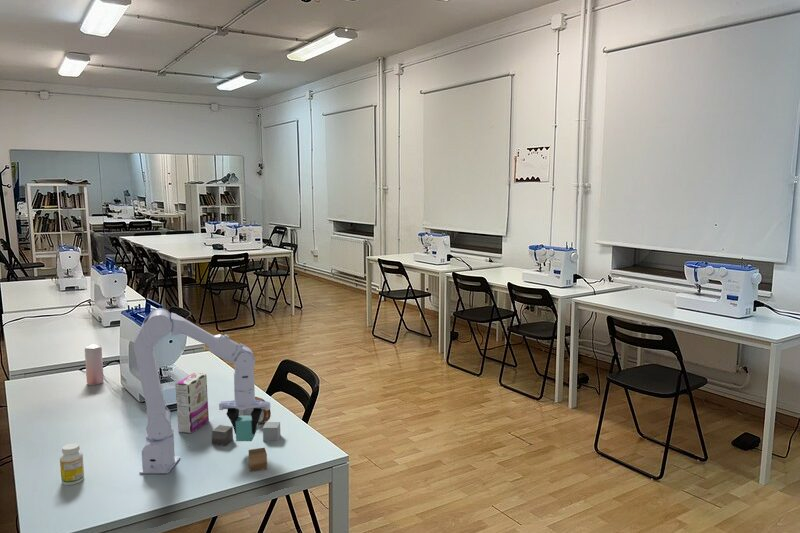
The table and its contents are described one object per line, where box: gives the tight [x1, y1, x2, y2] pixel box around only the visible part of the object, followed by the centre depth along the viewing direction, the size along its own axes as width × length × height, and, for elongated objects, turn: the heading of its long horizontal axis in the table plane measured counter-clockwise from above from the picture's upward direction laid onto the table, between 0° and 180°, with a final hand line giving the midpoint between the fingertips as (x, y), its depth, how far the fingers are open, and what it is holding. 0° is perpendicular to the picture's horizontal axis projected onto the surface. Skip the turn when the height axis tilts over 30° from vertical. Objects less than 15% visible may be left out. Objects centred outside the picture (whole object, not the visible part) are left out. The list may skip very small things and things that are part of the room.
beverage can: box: [84, 344, 105, 386], centre depth 234 cm, size 6×6×15 cm
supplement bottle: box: [59, 442, 85, 486], centre depth 157 cm, size 5×5×10 cm
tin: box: [239, 396, 272, 425], centre depth 198 cm, size 15×3×8 cm, turn 57°
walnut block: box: [248, 447, 268, 473], centre depth 166 cm, size 4×4×4 cm
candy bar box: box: [175, 372, 210, 434], centre depth 193 cm, size 11×5×16 cm, turn 168°
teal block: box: [235, 416, 256, 442], centre depth 174 cm, size 4×4×6 cm
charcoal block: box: [211, 424, 234, 447], centre depth 182 cm, size 4×4×4 cm
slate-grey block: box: [262, 421, 281, 442], centre depth 185 cm, size 4×4×4 cm
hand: (245, 432), depth 174 cm, fingers closed on teal block, 4 cm apart
